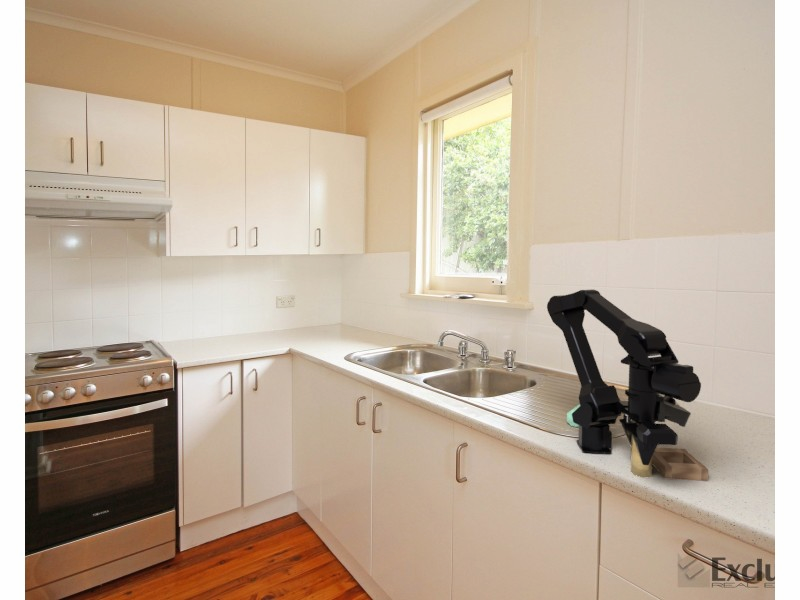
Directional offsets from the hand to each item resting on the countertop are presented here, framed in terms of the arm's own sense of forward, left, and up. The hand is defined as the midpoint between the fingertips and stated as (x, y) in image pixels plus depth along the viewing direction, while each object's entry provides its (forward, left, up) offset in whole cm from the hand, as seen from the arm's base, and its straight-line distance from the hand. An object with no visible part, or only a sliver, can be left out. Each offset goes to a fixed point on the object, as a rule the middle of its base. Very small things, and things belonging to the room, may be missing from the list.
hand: (641, 460), depth 95 cm
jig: (+8, +3, -3) cm, 9 cm away
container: (-2, +36, -3) cm, 36 cm away
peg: (0, 0, -3) cm, 3 cm away
